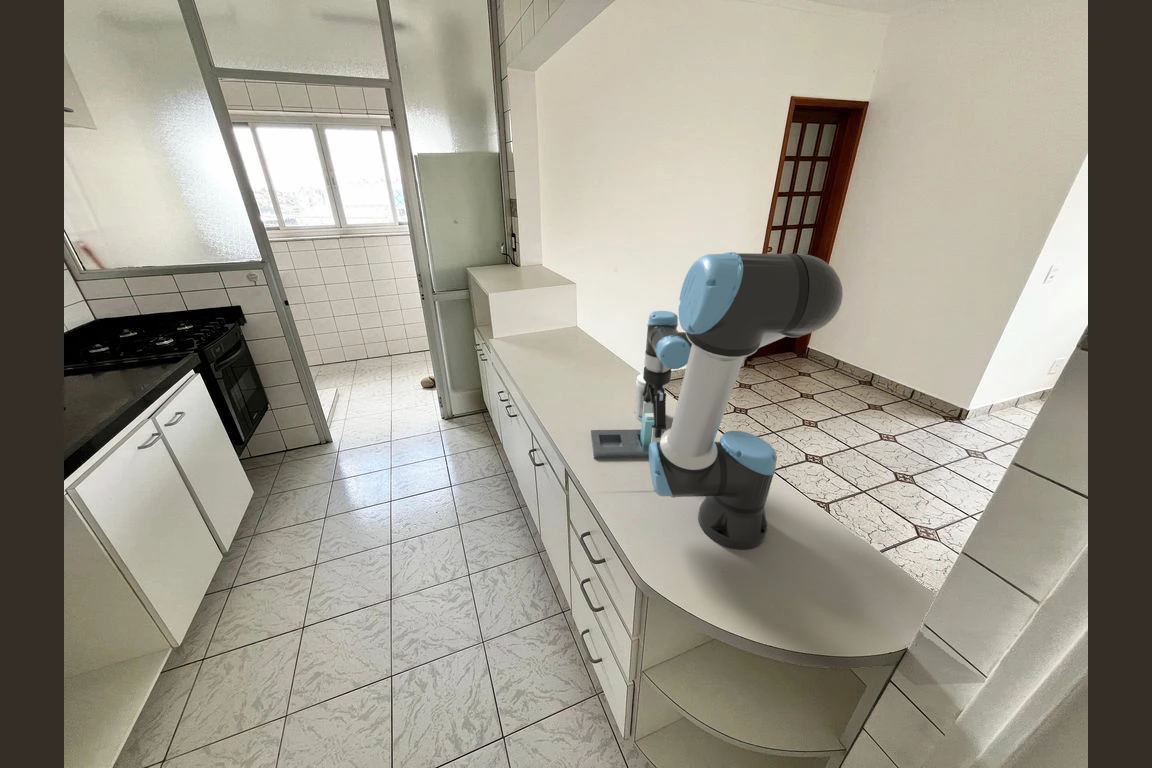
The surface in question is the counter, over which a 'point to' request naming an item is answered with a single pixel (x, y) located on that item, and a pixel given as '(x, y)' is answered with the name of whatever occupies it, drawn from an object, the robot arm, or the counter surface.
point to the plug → (646, 429)
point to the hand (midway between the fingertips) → (650, 432)
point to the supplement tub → (640, 397)
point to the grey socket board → (618, 444)
